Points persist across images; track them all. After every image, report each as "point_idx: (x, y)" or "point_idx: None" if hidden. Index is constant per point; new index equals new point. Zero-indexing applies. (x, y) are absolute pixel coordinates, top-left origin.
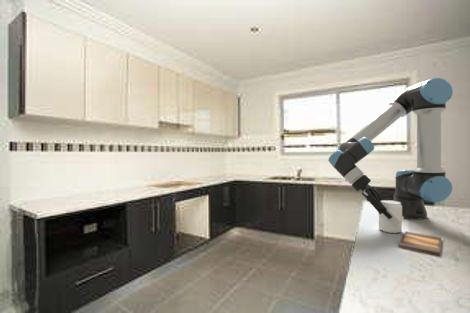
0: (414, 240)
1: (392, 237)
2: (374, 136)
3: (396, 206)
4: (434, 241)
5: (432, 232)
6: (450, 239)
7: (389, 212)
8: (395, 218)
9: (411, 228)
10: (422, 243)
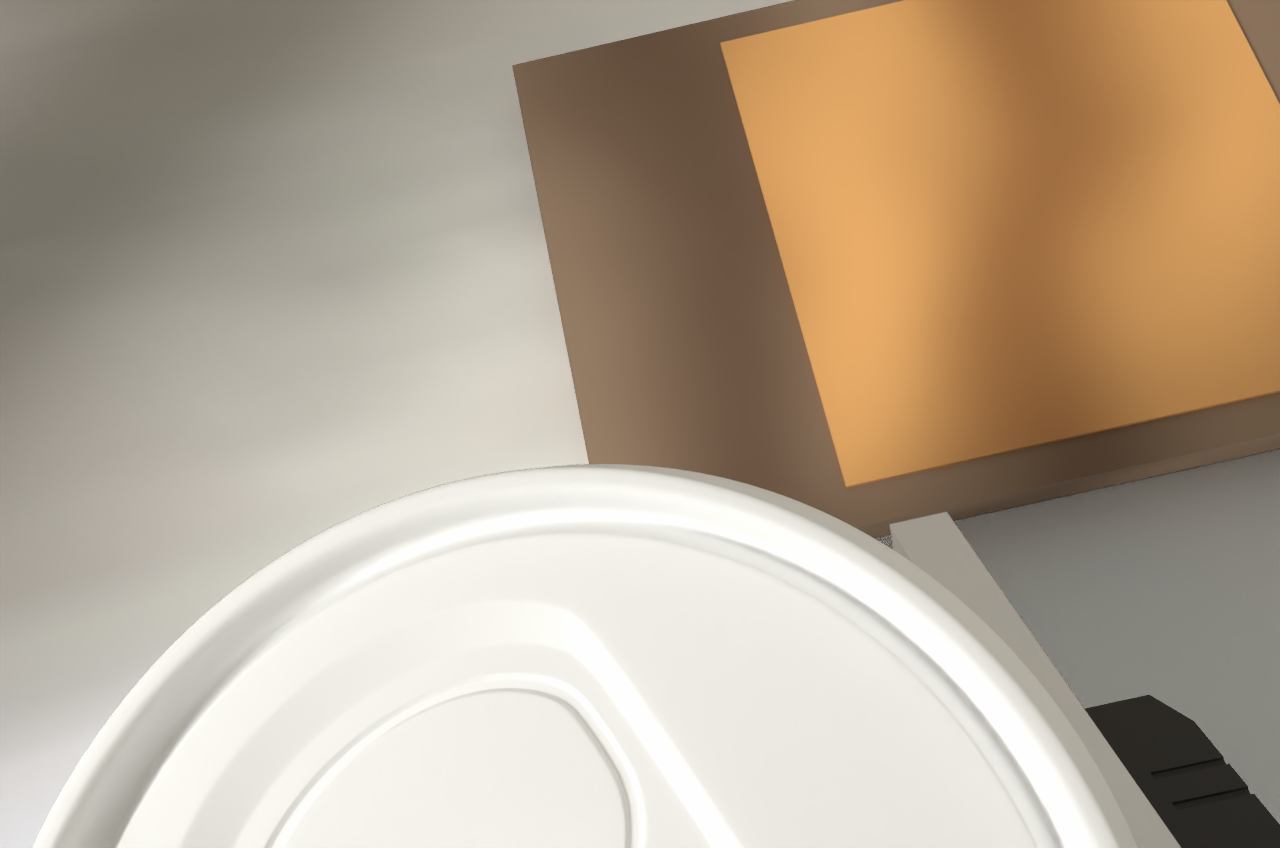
0: (1144, 253)
1: (1151, 683)
2: None
3: (899, 564)
4: (866, 55)
5: (116, 310)
6: (352, 40)
7: (1147, 814)
8: (1012, 630)
9: (91, 656)
10: (1184, 123)
